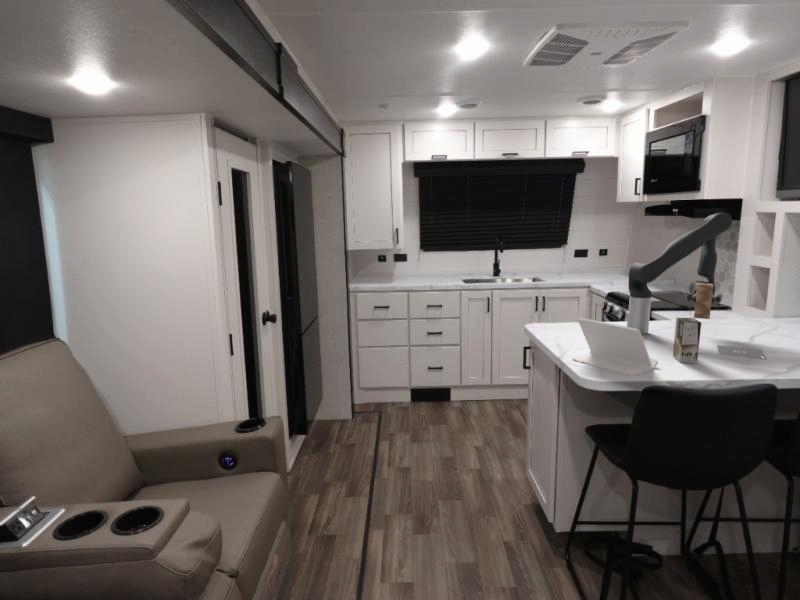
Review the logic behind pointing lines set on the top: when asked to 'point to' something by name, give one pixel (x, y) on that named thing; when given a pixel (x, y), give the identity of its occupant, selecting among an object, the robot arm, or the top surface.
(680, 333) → the coffee box
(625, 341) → the white laptop
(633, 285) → the robot arm
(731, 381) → the top surface
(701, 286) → the brown wooden block
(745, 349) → the tile
